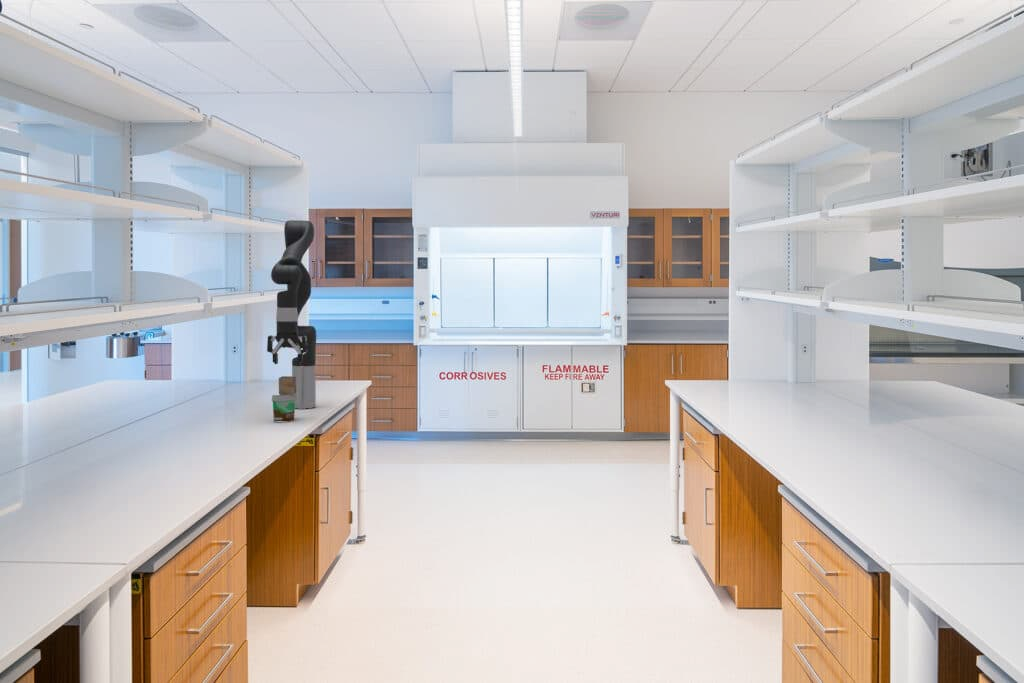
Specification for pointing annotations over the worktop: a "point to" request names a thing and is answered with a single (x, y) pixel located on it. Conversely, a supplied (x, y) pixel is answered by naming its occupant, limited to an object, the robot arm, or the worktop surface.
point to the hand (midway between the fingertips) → (287, 364)
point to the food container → (284, 407)
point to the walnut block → (287, 385)
